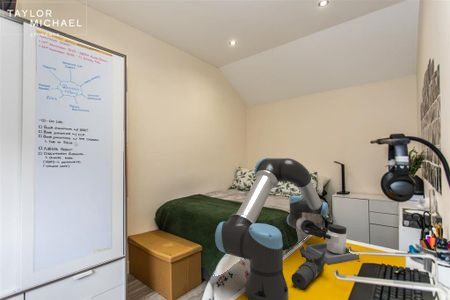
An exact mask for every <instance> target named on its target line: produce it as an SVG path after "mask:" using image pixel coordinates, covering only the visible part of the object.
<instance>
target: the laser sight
mask: <svg viewBox="0 0 450 300" xmlns="http://www.w3.org/2000/svg"><path fill="white" fill-rule="evenodd" d="M299 252H300V255H301V258H303V259H305V261H304V262H303V263H302V264H300V265H299V266H298V269H297V270H296V271H295V272H294V273H292V275H291V278H290V279H291V283H292V285H293V286H294V287H295V288H297V289H299V290H303V289H305V288H306V286H307V285H308V284H309V283H311V282H312V281H313V280H315V279H316V277H317V276H318V275H319V274H320V273H321V272H322V271H323V269H324V267H325V264H326V263H325V261H324V256H325V253H326V251H324V252H323V253H322V255H321V256H320V255H318V254H315V255H312V254H310V253H308V252H307V251H306V248H305V245H301V247H299Z"/></svg>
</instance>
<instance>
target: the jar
mask: <svg viewBox="0 0 450 300" xmlns="http://www.w3.org/2000/svg"><path fill="white" fill-rule="evenodd" d="M327 229H329V230H328V233H329V234H331V235H336V236H339V242H337V243H335V242H333V241H331V240H329V239H327V238H326V243H327V250H329V251H331V252H333V253H339V254H344V253H345V252H346V247H347V236H348V233H347V227H346V226H343V225H339V224H335V223H334V224H333V223H332V224H331V223H330V224H329V225H328V228H327Z"/></svg>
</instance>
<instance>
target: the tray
mask: <svg viewBox="0 0 450 300" xmlns="http://www.w3.org/2000/svg"><path fill="white" fill-rule="evenodd" d="M349 248H350V247H348V246H346V252H345V253H344V254H339V253H333V252H331V251H329V250H327V242H321V243H314V244H309V245H308V244H307V245H305V250H306V251H307V252H308V253H310V254H312V255H315V254H318V255H320V256H321V255H322V253H323V252H324V251H326V253H325V256H324V261H325V264H327V265H328V266H329V265H334V264H340V263H346V262H350V261H351V262H352V261H357V259H358V260H360V254H359V255H356V254H352V253H350V252H349ZM352 250H353V251H355V250H354V249H352Z"/></svg>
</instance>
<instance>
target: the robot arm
mask: <svg viewBox="0 0 450 300" xmlns="http://www.w3.org/2000/svg"><path fill="white" fill-rule="evenodd" d="M254 168H255V169H254V178H255V180H254V182H253V184H252V186H251V188H250V190H249V192H248V193H247V195H246V197H245V198H244V200H243V202H242V203H241V205H240V207H239V209H238V210H237V212H236V213H233V214H231V215H230V216H229V218H228V220H227V221H226V220H225V221H221V222H219V224H218V225H217V227H216V229H215V234H214V236H215V238H214V240H215V241H214V242H215V246H216V247H217V249H218V250H219V252H222V253H225V254H227V255H230V256H235V257H238V258H242V259H243V260H244V259H245V260H247V261H249V272H248V275H247V279H246V282H245V285H244V287H245V290H244V291H245V292H244V293H246V294H245V296H246V297H247V299H248V300H289V299H288V298H289V287H288V284H287V281H286V278H285V275H284V271H283V270H284V266H283V263H284V262H283V261H284V258H283V246H284V242H283V235H282V232H281V230H280V229H279V228H277V227H276V226H274V225H270V224H267V223H259V222H258V223H256V221H257V219H258V218H259V216H260V213H261V212H262V209H263V207H264V205H265V203H266V201H267V199H268V197H269V195H270V194H271V191H272V189H275V188H277V186H278V184H279V183H280V182H281V183H291V184H292V185H293V186H295V187H296V188H297V189H298V191H299V192H300V194H301V195H290V196H289V203H288V204H289V214H288V215H287V218H286V223H287V224H288V226H290V227H291V228H294V229H297V230H299V231H301V232H302V233H304V234H307V235H310V236H312V237H317V238H319V239H323V240H324V241H325V240H326V241H327V239H329V240H331V241H333V242H335V243H337V242H339V236H336V235H331V234H329V233H328V230H329V229H328V228H327V227H325V226H324V225H323V226H318V225H316V224H315V222H314V221H312V220H310V219H307V218H305V217H303V214H311V215H318V216H327V215H328V214H329V204H328V202H325V201H322V200H321V198H320V196H319V194H318V192H317V191H316V187H315V185H314V184H313V182H312V175H311V174H310V171H309V170H308V169H307V168H306V167H305V165H303V164H302V163H301V162H299V161H297V160H295V159H294V158H293V159H292V158H288V157H287V158H286V157H285V158H284V157H283V158H282V157H278V158H275V157H274V158H272V157H266V158H261V159H259V160H258V161H257V162H256V164H255V166H254Z"/></svg>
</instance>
